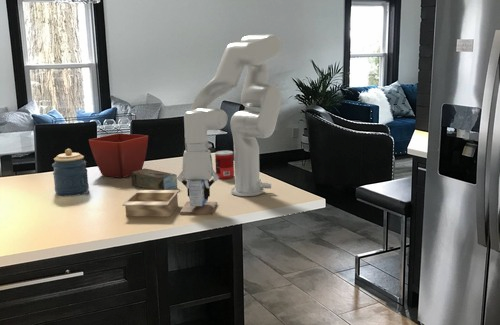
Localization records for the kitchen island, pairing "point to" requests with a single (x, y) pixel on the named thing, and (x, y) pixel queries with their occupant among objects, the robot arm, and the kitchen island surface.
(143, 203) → the wooden tray
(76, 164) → the canister
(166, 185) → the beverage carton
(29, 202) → the kitchen island surface
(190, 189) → the medicine box
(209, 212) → the walnut board
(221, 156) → the canned food
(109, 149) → the plant pot
